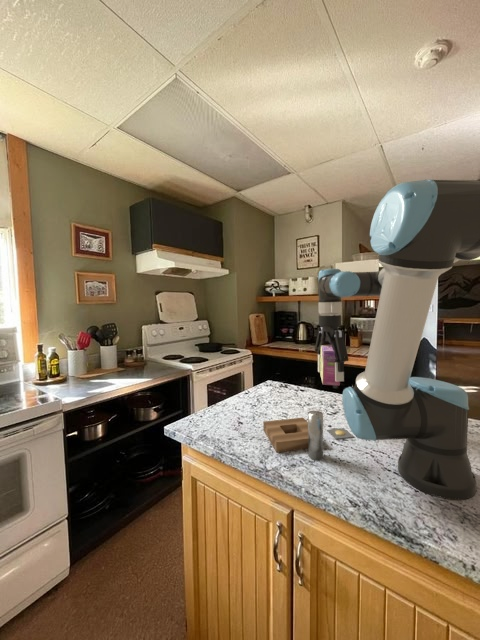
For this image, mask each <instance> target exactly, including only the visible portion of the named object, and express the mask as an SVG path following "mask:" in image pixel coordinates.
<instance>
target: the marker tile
mask: <svg viewBox="0 0 480 640" xmlns="http://www.w3.org/2000/svg"><path fill="white" fill-rule="evenodd" d="M326 432H328V433H329V435H331V437H333V438H334V439H335V440H336V441H337V440H343V439H344V440H345V439H353V438H355V435H354V434H353V433H350V432H349V431H348V430H347V429H346V428H344V427H341V428H332V429H326Z"/></svg>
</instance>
